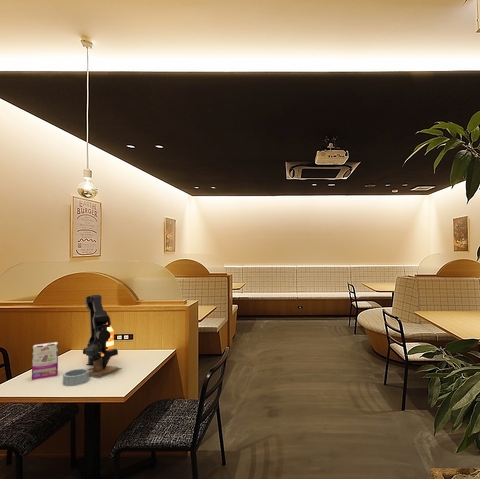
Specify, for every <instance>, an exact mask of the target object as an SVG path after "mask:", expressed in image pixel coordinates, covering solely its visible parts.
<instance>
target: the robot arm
mask: <svg viewBox="0 0 480 479" xmlns="http://www.w3.org/2000/svg"><path fill="white" fill-rule="evenodd" d="M102 297H103V296H102V295H101V294H92V295H87V297H86V296H85V298H84V304H85V306H86V307H85V308H86V309H87V310H88V312H89V326H90V331H89V332H90V337H89V340H88V341H87V344H86V347H84V349H83V350H82V354H83V355H85V356H87V364H85V366H92V367H93V361H96V360H99V359H103V369H105V368H106V366H108V363H109V361H110V359H111V357H114V356H117V355H118V354H119V351H118V349H117V348H114V349H109V350H106V349H108V347H106V341H108V340H109V339H110V336H111V334H110V332H109V331H108V330H107V327H110V325H111V324H112V322H111V317H110V315H108V312H107V311H106V310H104V307H103V303H102V302H103V298H102ZM107 323H108V324H107ZM111 326H112V325H111ZM101 354H104V356H102V357H101Z"/></svg>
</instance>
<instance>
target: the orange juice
mask: <svg viewBox="0 0 480 479" xmlns="http://www.w3.org/2000/svg"><path fill="white" fill-rule="evenodd" d="M107 324H108V323H107ZM107 330H108V331H109V332H110V334H111V336H110V339H109V340H108V341H106V347H108V349H106V350H109V349H115V348H114V346H115V345H114V344H115V343H114V342H115V339H114V338H115V330H114V329H113V327H112V325H110V327H107ZM102 356H104V354H101V357H102Z"/></svg>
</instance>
